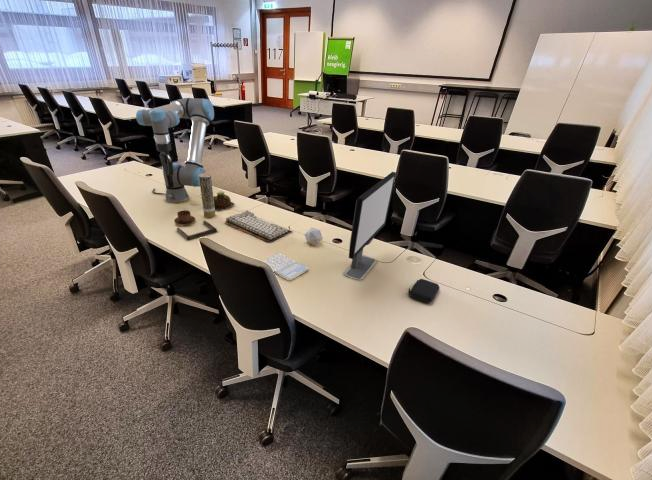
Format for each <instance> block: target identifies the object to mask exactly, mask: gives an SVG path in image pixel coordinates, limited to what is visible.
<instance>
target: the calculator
mask: <svg viewBox="0 0 652 480" xmlns="http://www.w3.org/2000/svg"><path fill="white" fill-rule="evenodd" d="M262 261H264V262H266V263H268V264H269V265H270V266H271V267H272V269H273V270H274V272H275V273H274V272H273V273H274V274H276V275H277V276H279V277H281V278H283V279H285V280H286V281H292V280H295V279H296V278H297V277H299V276H301V275H303V274H304V273H306V272H308V271H309V268H308V266H306V265H304V264H302V263H300V262H298V261H296V260H294V259H292V258H290V257H288V256H287V255H284V254H282V253H279V252H277V253H276V254H273V255H271V256H269V257H267V258H265V259H262Z"/></svg>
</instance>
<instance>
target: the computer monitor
mask: <svg viewBox="0 0 652 480" xmlns="http://www.w3.org/2000/svg"><path fill="white" fill-rule="evenodd" d="M396 176H397V172H395V171H391V172H390V173H389V174H388V175H386V176H385V177H383V178H382V179H381V180H379V181H378V182H377V183H375V184H374V185H373V186H372V187H370V188H369V189H367V190H366V191H364V193H362V194H360V196H358V197H357V199H356V201H355V208H354V213H353V220H352V227H351V234H350V239H349V249H348V259H351V265H350V267H349V268H348V269H347V270H346V271H345V272H344V275H345V277H347V278H350V279H353V280H356V281H361V280H363V279H364V278H365V276H366V275H367V274H368V273H369V272H370V271H371V269H372V268H373V267H374V265H375V264H376V263H377V259H376V258H374V257H370V256H367V255H363V254H364V253H363V252H364V248H365V247H366V246H368V245H370V244H371V243H372V241H373V240H374V239H375V237H376V236H377V234H379V232H380V231H381V230H382V229H383V228H384V227H385V226H386V224H387V218H388V214H389V209H390V204H391V199H392V196H393V191H394V186H395V181H396Z"/></svg>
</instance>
